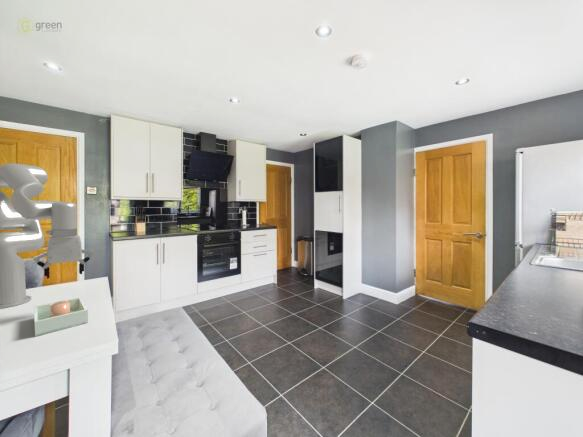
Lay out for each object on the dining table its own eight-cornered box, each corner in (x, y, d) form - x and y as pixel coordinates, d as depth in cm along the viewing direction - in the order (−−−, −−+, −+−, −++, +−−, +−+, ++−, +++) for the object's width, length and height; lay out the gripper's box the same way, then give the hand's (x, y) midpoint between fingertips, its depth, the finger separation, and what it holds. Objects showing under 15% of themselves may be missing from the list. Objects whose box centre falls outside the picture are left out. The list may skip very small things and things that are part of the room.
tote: (34, 319, 93) (34, 306, 93) (81, 308, 103) (80, 297, 102) (35, 336, 81) (34, 322, 81) (87, 322, 91) (87, 309, 91)
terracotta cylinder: (47, 325, 87) (46, 306, 87) (62, 319, 92) (62, 301, 92) (59, 326, 86) (58, 307, 86) (73, 320, 91) (73, 302, 91)
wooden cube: (51, 320, 91) (50, 307, 91) (50, 316, 94) (50, 303, 94) (69, 316, 95) (68, 303, 94) (68, 312, 98) (67, 299, 98)
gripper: (32, 235, 88) (33, 282, 89) (93, 233, 100) (93, 273, 101) (33, 233, 93) (33, 277, 94) (91, 231, 105) (91, 269, 107)
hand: (64, 275), depth 98 cm, fingers open, 9 cm apart
